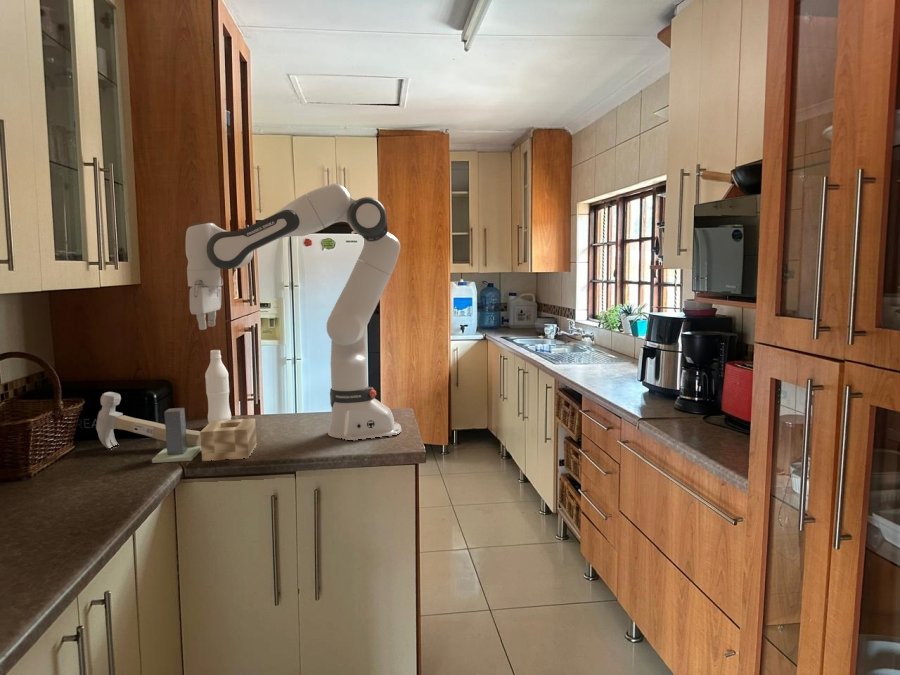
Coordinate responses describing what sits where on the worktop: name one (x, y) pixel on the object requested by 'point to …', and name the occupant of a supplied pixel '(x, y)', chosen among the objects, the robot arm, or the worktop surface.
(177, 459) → the pad
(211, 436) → the socket block
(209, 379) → the water bottle
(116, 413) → the hammer
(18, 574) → the worktop surface
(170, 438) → the peg
